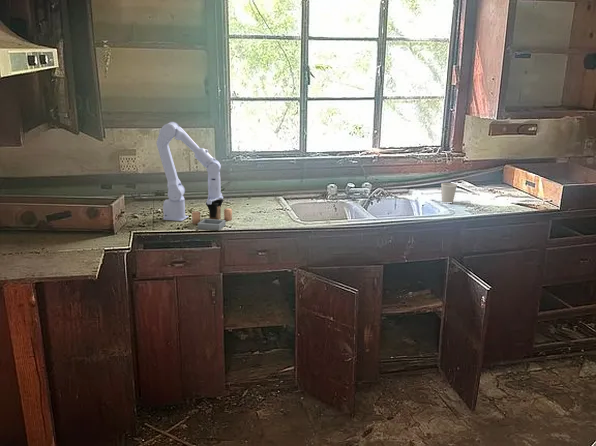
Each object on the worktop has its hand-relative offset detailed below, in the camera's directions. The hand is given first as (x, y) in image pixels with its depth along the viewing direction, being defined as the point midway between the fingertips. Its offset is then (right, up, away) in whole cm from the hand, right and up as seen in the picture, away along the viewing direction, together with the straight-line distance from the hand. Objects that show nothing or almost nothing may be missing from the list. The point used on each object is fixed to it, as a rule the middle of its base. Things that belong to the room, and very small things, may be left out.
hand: (215, 215), depth 265 cm
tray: (0, -5, -11) cm, 12 cm away
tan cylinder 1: (-8, -3, -6) cm, 10 cm away
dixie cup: (+118, +7, +39) cm, 124 cm away
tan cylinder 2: (+6, -2, 0) cm, 6 cm away
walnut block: (0, -2, 0) cm, 2 cm away
